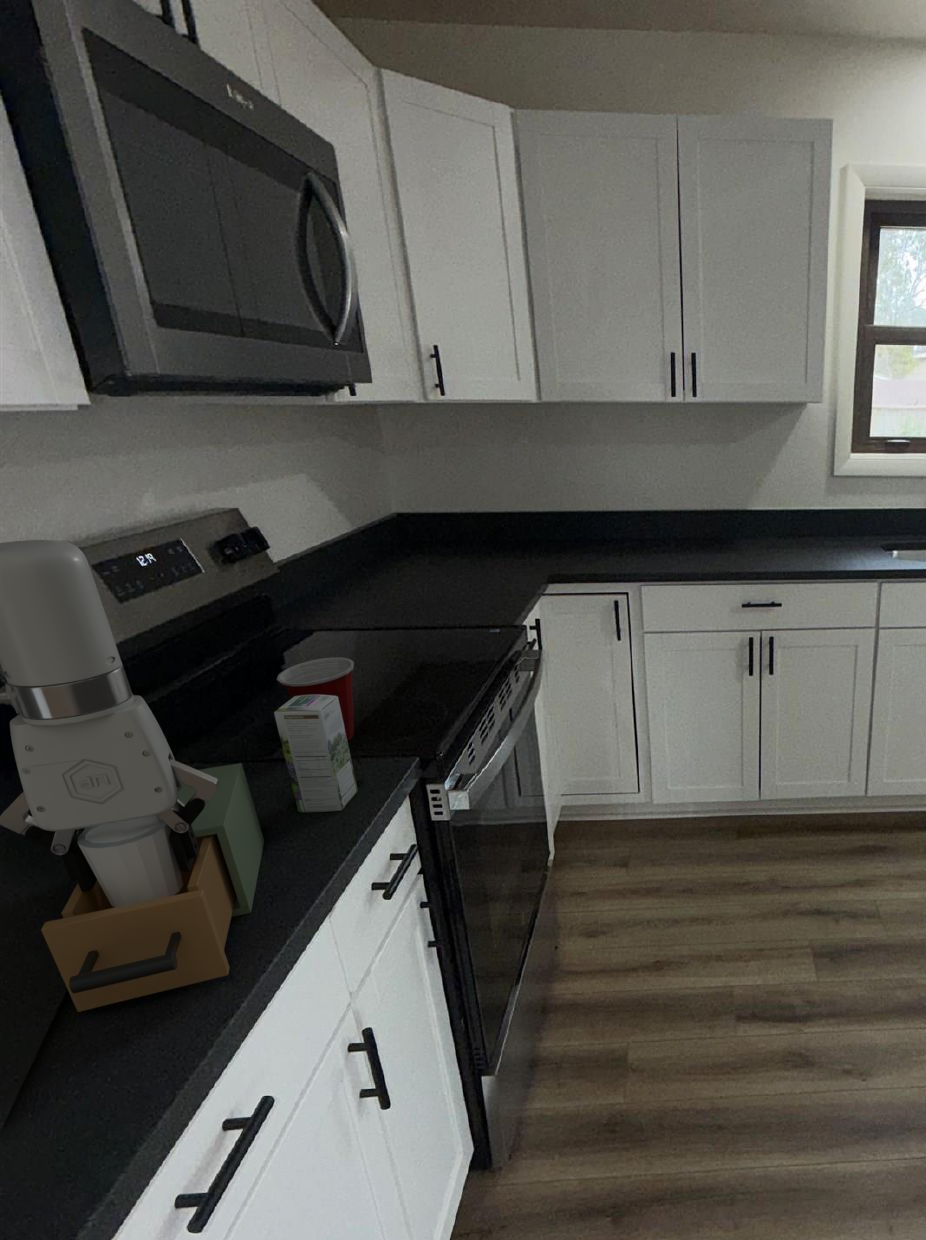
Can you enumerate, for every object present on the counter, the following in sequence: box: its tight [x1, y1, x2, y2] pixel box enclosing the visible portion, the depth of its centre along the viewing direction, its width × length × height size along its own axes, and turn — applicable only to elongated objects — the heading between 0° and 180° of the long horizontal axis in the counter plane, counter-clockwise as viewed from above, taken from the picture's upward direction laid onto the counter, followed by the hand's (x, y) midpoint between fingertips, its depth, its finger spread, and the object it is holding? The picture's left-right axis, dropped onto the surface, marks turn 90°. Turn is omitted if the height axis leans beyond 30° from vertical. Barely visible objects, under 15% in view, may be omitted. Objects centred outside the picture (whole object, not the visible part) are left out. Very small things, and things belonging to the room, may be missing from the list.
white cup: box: [78, 815, 183, 908], centre depth 74 cm, size 7×7×7 cm
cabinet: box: [83, 762, 265, 918], centre depth 87 cm, size 17×13×11 cm
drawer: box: [40, 834, 236, 1013], centre depth 74 cm, size 20×11×9 cm, turn 25°
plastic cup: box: [276, 656, 355, 741], centre depth 125 cm, size 11×11×12 cm
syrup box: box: [273, 695, 359, 814], centre depth 104 cm, size 6×6×14 cm
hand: (140, 872), depth 74 cm, fingers closed on white cup, 6 cm apart
